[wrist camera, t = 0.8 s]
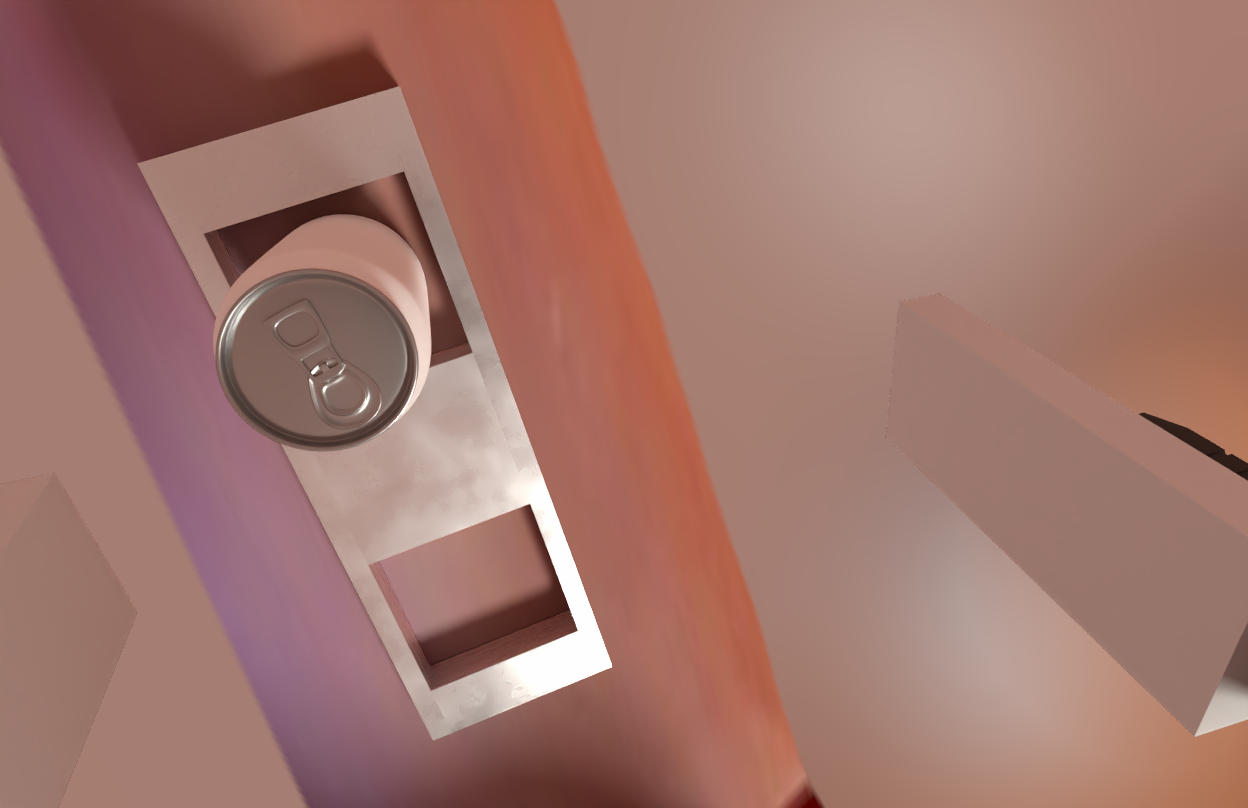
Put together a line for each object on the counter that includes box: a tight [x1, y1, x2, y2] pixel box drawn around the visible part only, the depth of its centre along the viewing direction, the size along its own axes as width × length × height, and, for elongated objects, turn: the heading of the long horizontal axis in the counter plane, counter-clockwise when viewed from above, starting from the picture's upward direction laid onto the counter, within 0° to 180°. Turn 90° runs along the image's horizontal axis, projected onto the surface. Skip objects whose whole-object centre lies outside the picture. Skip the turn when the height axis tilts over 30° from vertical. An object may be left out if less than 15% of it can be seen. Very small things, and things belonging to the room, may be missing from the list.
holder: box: [137, 86, 612, 741], centre depth 36 cm, size 30×10×2 cm, turn 16°
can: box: [213, 214, 431, 452], centre depth 28 cm, size 6×6×12 cm
